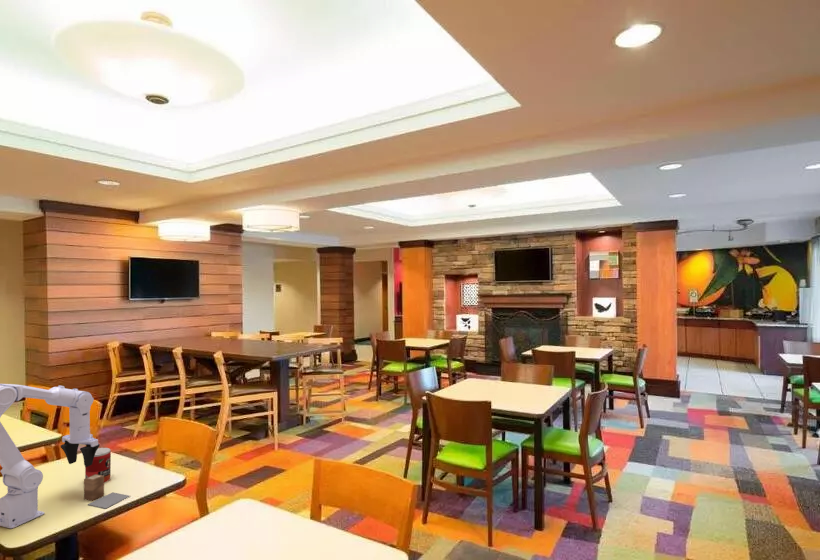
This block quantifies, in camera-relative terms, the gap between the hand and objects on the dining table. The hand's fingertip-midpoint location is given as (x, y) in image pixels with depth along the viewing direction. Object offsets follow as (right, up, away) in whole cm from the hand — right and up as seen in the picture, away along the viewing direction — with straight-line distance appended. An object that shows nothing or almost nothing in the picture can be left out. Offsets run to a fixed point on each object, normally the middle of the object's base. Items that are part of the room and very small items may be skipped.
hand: (80, 464), depth 160 cm
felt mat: (+13, -10, -5) cm, 17 cm away
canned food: (-1, -11, +10) cm, 15 cm away
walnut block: (+6, -10, -3) cm, 12 cm away
